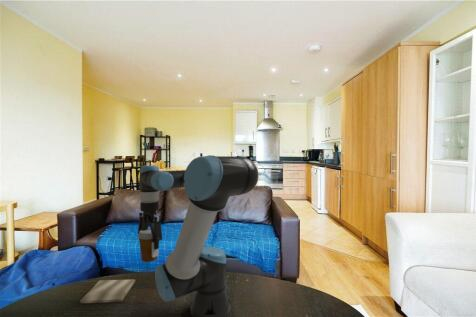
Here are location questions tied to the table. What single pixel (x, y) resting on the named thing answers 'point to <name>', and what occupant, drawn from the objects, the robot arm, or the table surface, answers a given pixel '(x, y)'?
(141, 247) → the disposable coffee cup
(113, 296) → the wooden board
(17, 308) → the table surface
